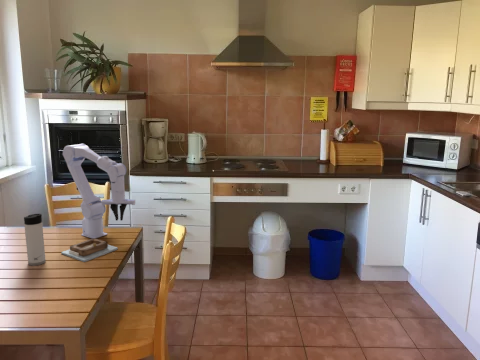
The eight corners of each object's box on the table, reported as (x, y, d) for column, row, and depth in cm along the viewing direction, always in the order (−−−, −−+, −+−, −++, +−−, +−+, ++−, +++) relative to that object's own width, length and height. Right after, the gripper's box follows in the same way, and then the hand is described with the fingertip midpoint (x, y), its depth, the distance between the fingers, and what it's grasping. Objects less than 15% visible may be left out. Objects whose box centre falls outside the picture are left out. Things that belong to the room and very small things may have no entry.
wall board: (61, 253, 175) (61, 249, 174) (95, 242, 189) (95, 238, 188) (84, 262, 167) (83, 257, 166) (117, 249, 181) (117, 244, 180)
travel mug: (39, 266, 162) (35, 217, 158) (24, 265, 163) (19, 216, 159) (49, 260, 168) (45, 212, 164) (35, 259, 169) (30, 211, 165)
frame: (70, 251, 174) (69, 244, 173) (94, 243, 184) (93, 236, 183) (84, 256, 169) (83, 248, 169) (107, 247, 179) (107, 240, 179)
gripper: (136, 188, 191) (137, 217, 194) (103, 188, 190) (105, 217, 192) (133, 192, 184) (134, 221, 187) (99, 192, 183) (101, 222, 186)
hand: (119, 219), depth 189 cm, fingers closed
